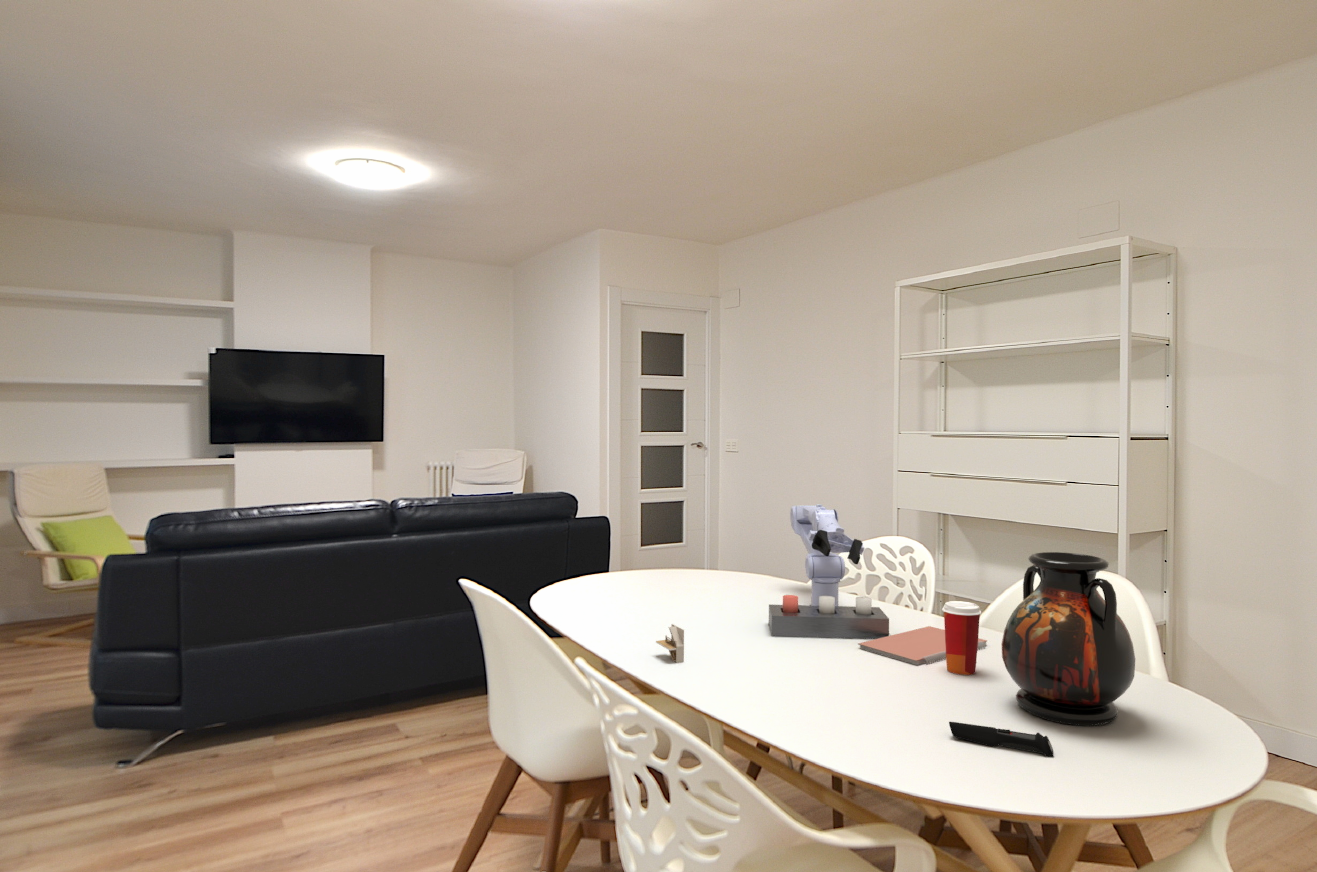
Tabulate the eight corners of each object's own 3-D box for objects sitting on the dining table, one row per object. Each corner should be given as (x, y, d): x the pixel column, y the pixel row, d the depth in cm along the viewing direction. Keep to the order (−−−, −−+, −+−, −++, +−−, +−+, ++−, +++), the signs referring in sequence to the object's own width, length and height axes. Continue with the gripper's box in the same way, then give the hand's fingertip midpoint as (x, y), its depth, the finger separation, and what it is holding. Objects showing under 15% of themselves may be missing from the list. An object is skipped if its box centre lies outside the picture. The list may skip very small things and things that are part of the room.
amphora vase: (975, 698, 149) (977, 550, 148) (1060, 685, 156) (1063, 545, 156) (1071, 741, 129) (1073, 571, 128) (1164, 724, 136) (1167, 563, 136)
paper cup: (974, 665, 169) (975, 600, 169) (985, 677, 161) (986, 609, 161) (936, 664, 170) (937, 599, 169) (946, 675, 162) (947, 608, 162)
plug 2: (854, 616, 197) (854, 596, 197) (869, 616, 197) (870, 596, 197) (857, 619, 194) (857, 599, 194) (872, 620, 193) (872, 600, 193)
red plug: (782, 614, 199) (782, 594, 199) (797, 614, 199) (797, 595, 198) (783, 618, 195) (783, 597, 195) (798, 618, 195) (798, 598, 195)
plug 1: (818, 615, 198) (818, 595, 198) (833, 615, 198) (833, 595, 198) (820, 619, 194) (820, 598, 194) (835, 619, 194) (835, 599, 194)
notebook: (920, 669, 168) (920, 660, 168) (857, 650, 181) (857, 642, 181) (991, 648, 184) (991, 640, 184) (929, 632, 197) (929, 624, 197)
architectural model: (670, 666, 169) (670, 631, 169) (655, 657, 175) (656, 624, 175) (684, 664, 170) (684, 629, 170) (669, 655, 176) (669, 622, 176)
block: (768, 623, 203) (768, 604, 203) (878, 626, 201) (879, 607, 201) (771, 636, 191) (771, 615, 191) (888, 639, 189) (889, 618, 189)
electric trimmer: (950, 735, 132) (950, 716, 132) (1053, 750, 126) (1053, 731, 126) (947, 743, 129) (947, 724, 129) (1053, 759, 122) (1053, 739, 122)
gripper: (810, 513, 205) (820, 534, 192) (862, 527, 206) (876, 550, 193) (801, 536, 207) (811, 559, 194) (853, 551, 208) (866, 574, 196)
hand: (843, 556), depth 194 cm, fingers open, 7 cm apart
